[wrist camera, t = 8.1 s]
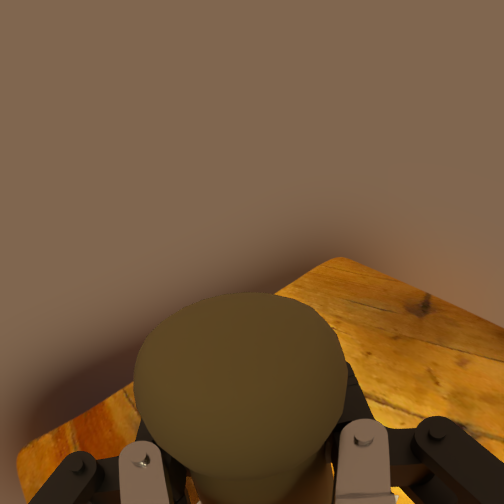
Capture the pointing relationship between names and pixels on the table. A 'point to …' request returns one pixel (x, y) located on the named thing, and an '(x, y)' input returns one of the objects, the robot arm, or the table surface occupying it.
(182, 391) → the cork
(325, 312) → the table surface
